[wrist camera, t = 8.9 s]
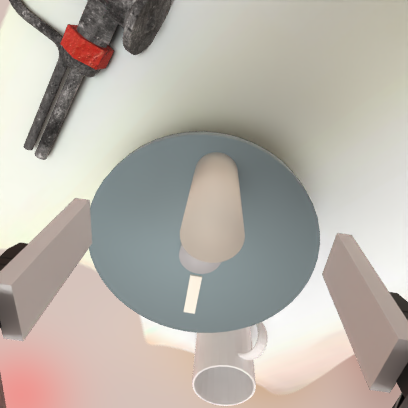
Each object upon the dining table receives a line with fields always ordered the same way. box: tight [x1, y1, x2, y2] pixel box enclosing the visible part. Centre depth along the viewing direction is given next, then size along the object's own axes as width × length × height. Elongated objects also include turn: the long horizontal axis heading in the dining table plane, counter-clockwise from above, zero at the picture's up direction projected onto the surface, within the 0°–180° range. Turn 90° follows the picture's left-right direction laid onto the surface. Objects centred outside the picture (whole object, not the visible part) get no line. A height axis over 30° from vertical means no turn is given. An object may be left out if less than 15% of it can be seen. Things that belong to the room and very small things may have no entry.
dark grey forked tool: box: [9, 0, 171, 160], centre depth 31 cm, size 6×26×15 cm
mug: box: [192, 322, 267, 406], centre depth 43 cm, size 12×8×10 cm, turn 145°
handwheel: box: [89, 132, 320, 333], centre depth 26 cm, size 22×22×12 cm
